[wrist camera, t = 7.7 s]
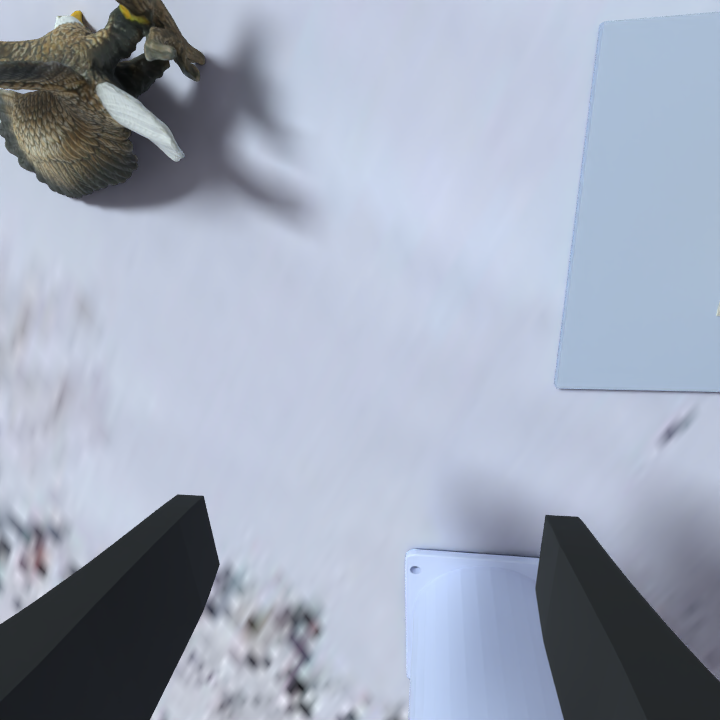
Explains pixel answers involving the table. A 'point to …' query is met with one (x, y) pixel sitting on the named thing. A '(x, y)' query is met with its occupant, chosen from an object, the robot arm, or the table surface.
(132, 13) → the eagle figurine
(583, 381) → the board
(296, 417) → the table surface
